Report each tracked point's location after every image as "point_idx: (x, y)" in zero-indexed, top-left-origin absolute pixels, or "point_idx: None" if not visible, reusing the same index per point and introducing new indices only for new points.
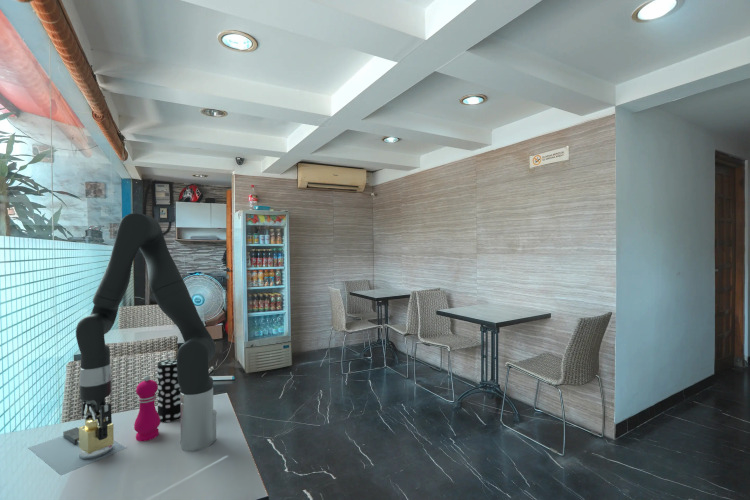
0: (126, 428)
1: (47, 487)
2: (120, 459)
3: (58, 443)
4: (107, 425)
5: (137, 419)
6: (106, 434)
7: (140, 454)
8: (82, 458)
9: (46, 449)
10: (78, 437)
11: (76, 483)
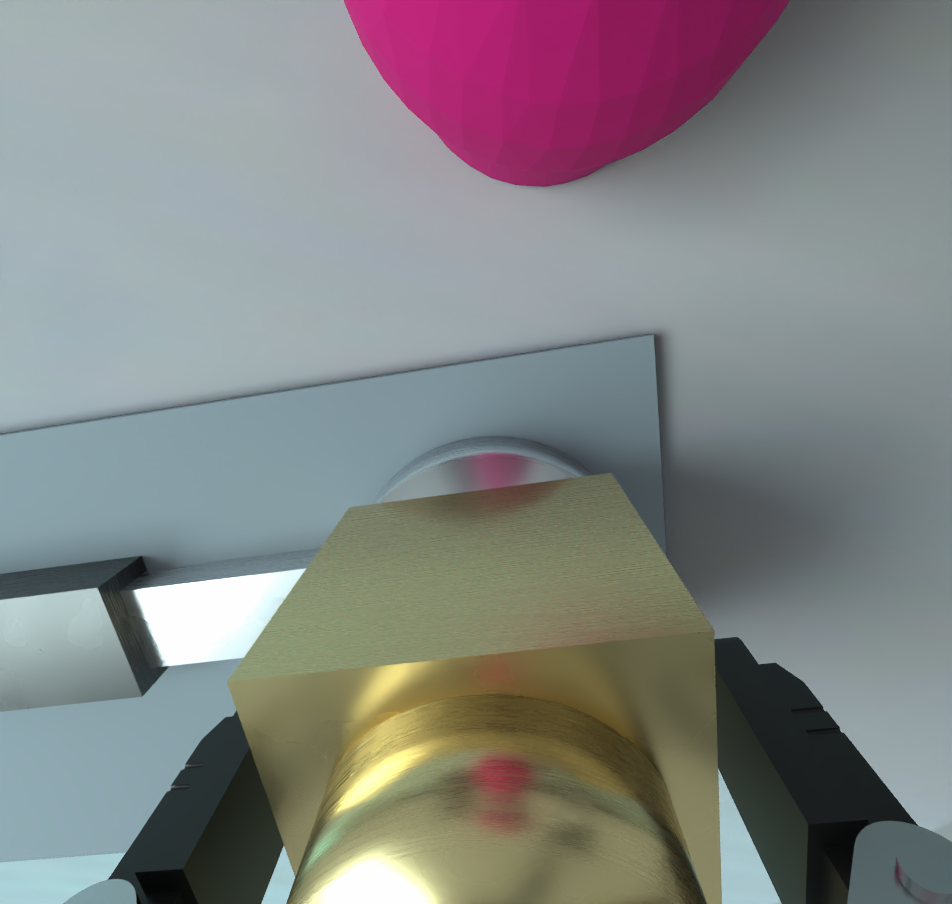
0: (47, 170)
1: (754, 863)
2: (823, 440)
3: (45, 727)
4: (679, 721)
5: (616, 45)
6: (808, 696)
7: (921, 259)
8: None
9: (114, 797)
10: (116, 666)
11: (890, 754)
